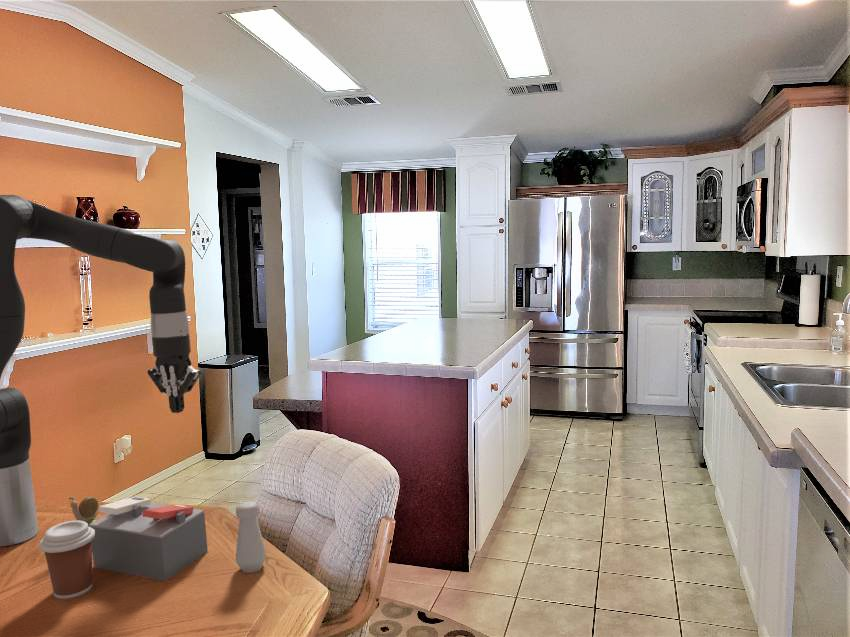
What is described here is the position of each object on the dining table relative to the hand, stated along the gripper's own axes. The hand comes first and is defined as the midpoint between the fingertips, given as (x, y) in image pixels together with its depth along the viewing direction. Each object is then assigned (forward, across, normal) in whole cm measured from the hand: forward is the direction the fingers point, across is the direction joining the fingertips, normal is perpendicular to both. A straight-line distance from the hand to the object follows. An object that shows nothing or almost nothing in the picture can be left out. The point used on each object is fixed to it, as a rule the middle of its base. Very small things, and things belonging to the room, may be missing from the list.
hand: (177, 412), depth 142 cm
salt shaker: (+27, +24, -10) cm, 38 cm away
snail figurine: (+27, -16, -12) cm, 34 cm away
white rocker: (+16, -4, -13) cm, 21 cm away
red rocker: (+16, +8, -13) cm, 22 cm away
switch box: (+27, +2, -13) cm, 30 cm away
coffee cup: (+27, -4, -26) cm, 38 cm away
